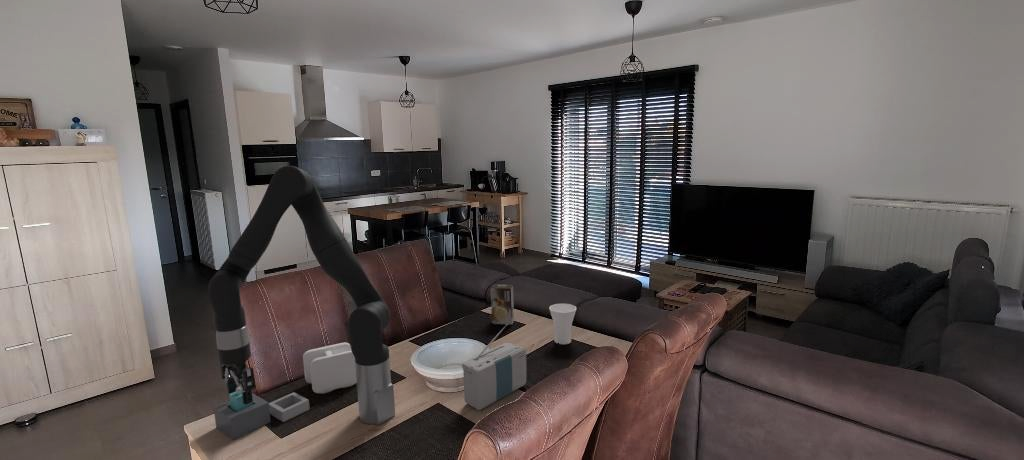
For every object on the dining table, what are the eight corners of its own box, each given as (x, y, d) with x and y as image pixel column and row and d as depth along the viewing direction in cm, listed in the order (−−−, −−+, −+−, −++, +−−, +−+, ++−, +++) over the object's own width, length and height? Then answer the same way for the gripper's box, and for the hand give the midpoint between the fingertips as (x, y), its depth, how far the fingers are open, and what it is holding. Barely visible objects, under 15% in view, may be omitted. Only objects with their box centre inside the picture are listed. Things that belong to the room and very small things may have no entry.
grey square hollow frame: (309, 409, 141) (308, 399, 140) (283, 422, 134) (282, 412, 134) (294, 401, 145) (293, 392, 145) (268, 413, 139) (267, 403, 138)
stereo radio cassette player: (480, 414, 136) (478, 348, 133) (460, 404, 142) (458, 340, 139) (527, 387, 152) (527, 326, 148) (508, 378, 157) (507, 320, 154)
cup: (580, 339, 188) (581, 306, 185) (569, 348, 179) (569, 314, 177) (556, 334, 193) (556, 301, 191) (544, 343, 185) (544, 309, 182)
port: (270, 422, 134) (268, 401, 133) (233, 439, 126) (230, 418, 125) (253, 411, 140) (250, 391, 139) (216, 427, 132) (213, 406, 131)
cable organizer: (310, 397, 147) (307, 362, 145) (305, 383, 156) (301, 350, 154) (360, 384, 155) (357, 350, 153) (352, 371, 164) (349, 339, 162)
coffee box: (514, 319, 210) (514, 284, 208) (512, 325, 204) (511, 288, 201) (494, 318, 212) (493, 283, 209) (491, 324, 206) (490, 287, 203)
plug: (254, 418, 134) (250, 387, 132) (239, 425, 130) (235, 393, 129) (247, 414, 136) (243, 383, 134) (232, 420, 133) (228, 388, 131)
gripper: (260, 344, 128) (267, 400, 131) (235, 333, 136) (241, 386, 139) (231, 354, 122) (238, 412, 125) (206, 341, 130) (214, 397, 133)
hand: (240, 398), depth 132 cm, fingers open, 8 cm apart
